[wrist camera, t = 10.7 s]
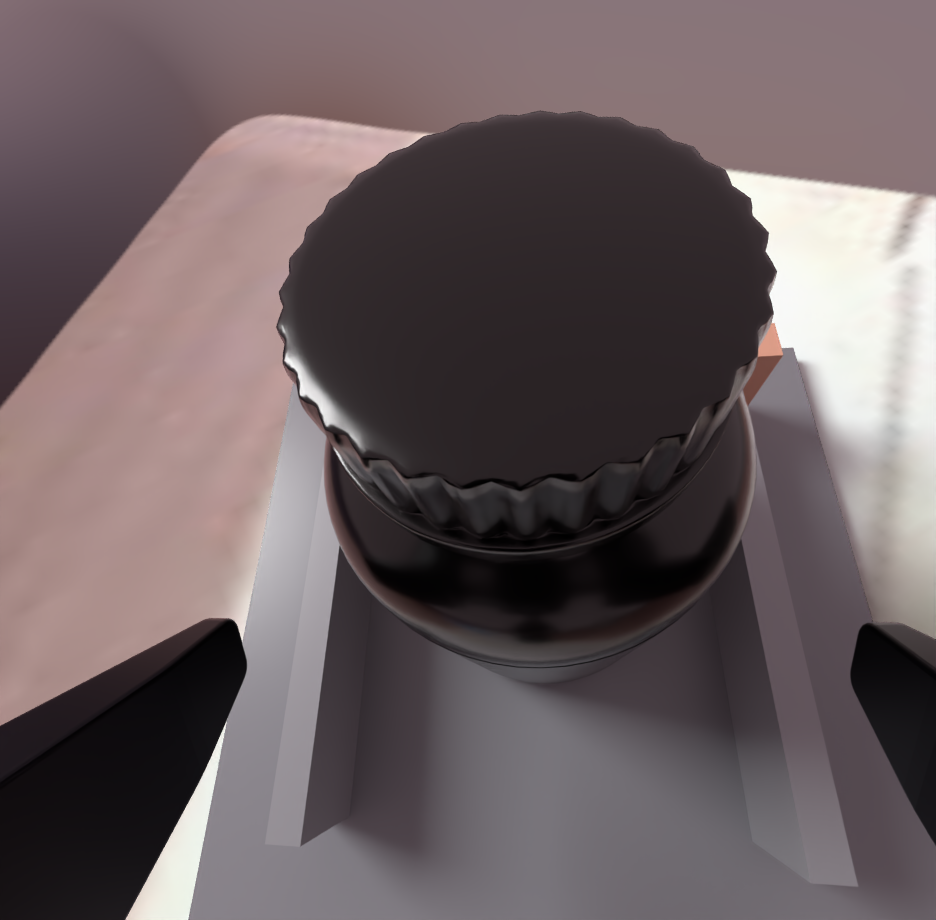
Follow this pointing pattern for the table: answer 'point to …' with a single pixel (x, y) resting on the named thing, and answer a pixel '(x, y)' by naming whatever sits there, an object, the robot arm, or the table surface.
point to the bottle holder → (566, 738)
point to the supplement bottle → (534, 383)
